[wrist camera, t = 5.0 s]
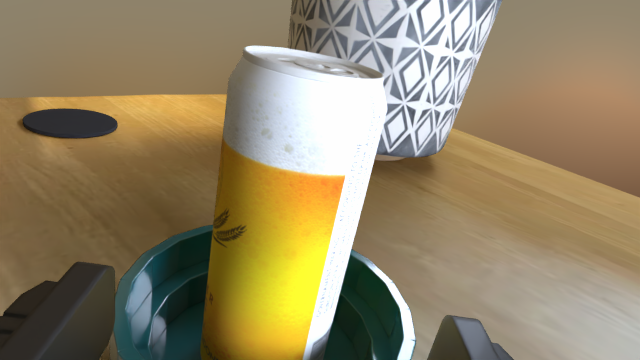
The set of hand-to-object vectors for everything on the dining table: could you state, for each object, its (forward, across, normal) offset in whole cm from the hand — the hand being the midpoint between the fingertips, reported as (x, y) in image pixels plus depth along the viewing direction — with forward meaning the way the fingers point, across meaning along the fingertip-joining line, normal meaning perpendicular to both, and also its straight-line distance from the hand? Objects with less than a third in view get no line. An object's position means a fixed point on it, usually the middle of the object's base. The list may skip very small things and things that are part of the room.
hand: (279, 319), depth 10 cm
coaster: (+38, +24, +10) cm, 46 cm away
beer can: (+8, 0, +10) cm, 13 cm away
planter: (+51, -10, +10) cm, 53 cm away
